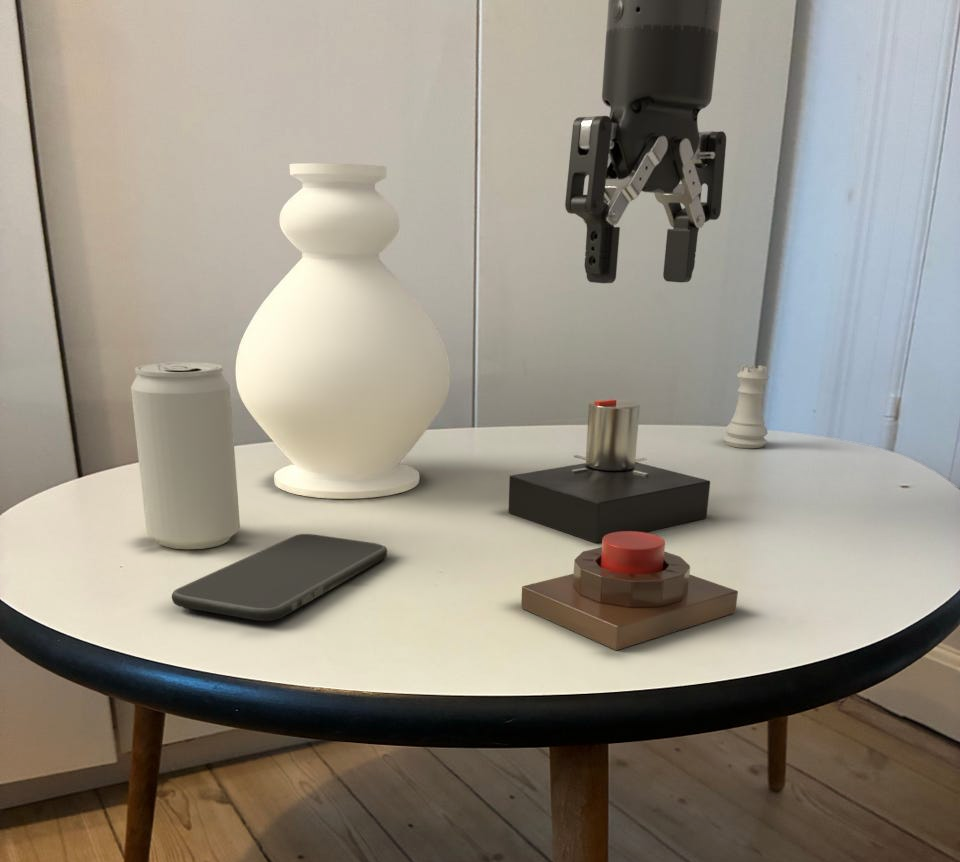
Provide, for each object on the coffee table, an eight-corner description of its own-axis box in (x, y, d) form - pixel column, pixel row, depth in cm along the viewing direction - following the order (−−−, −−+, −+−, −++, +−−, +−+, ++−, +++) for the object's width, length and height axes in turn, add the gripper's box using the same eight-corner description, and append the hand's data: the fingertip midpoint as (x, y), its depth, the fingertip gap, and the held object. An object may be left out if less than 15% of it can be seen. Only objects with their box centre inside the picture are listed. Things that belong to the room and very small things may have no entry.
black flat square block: (608, 485, 90) (610, 449, 88) (716, 516, 81) (720, 476, 80) (491, 507, 82) (492, 468, 81) (596, 543, 73) (599, 500, 72)
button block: (638, 577, 67) (641, 532, 65) (735, 612, 61) (741, 564, 60) (520, 608, 61) (522, 559, 60) (616, 650, 55) (620, 598, 54)
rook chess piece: (720, 446, 106) (729, 367, 103) (725, 439, 110) (733, 362, 107) (765, 450, 105) (775, 370, 102) (768, 442, 109) (777, 365, 106)
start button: (631, 555, 62) (633, 527, 61) (675, 570, 60) (678, 542, 59) (587, 565, 60) (589, 537, 59) (632, 582, 57) (634, 552, 57)
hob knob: (610, 458, 86) (614, 393, 84) (645, 467, 83) (650, 400, 81) (575, 464, 83) (578, 398, 81) (609, 473, 81) (614, 405, 79)
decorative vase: (233, 464, 94) (211, 166, 85) (419, 454, 100) (418, 173, 90) (256, 513, 79) (233, 155, 69) (475, 499, 84) (482, 165, 75)
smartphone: (393, 544, 69) (272, 612, 56) (393, 558, 70) (273, 628, 57) (298, 531, 72) (162, 593, 59) (299, 544, 72) (163, 608, 59)
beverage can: (167, 558, 68) (148, 374, 64) (134, 535, 73) (115, 362, 69) (255, 543, 72) (244, 368, 67) (219, 522, 77) (206, 357, 72)
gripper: (635, 5, 62) (613, 287, 68) (770, 37, 71) (740, 284, 77) (548, 19, 67) (535, 280, 73) (684, 47, 76) (662, 278, 82)
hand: (640, 282), depth 75 cm, fingers open, 8 cm apart
